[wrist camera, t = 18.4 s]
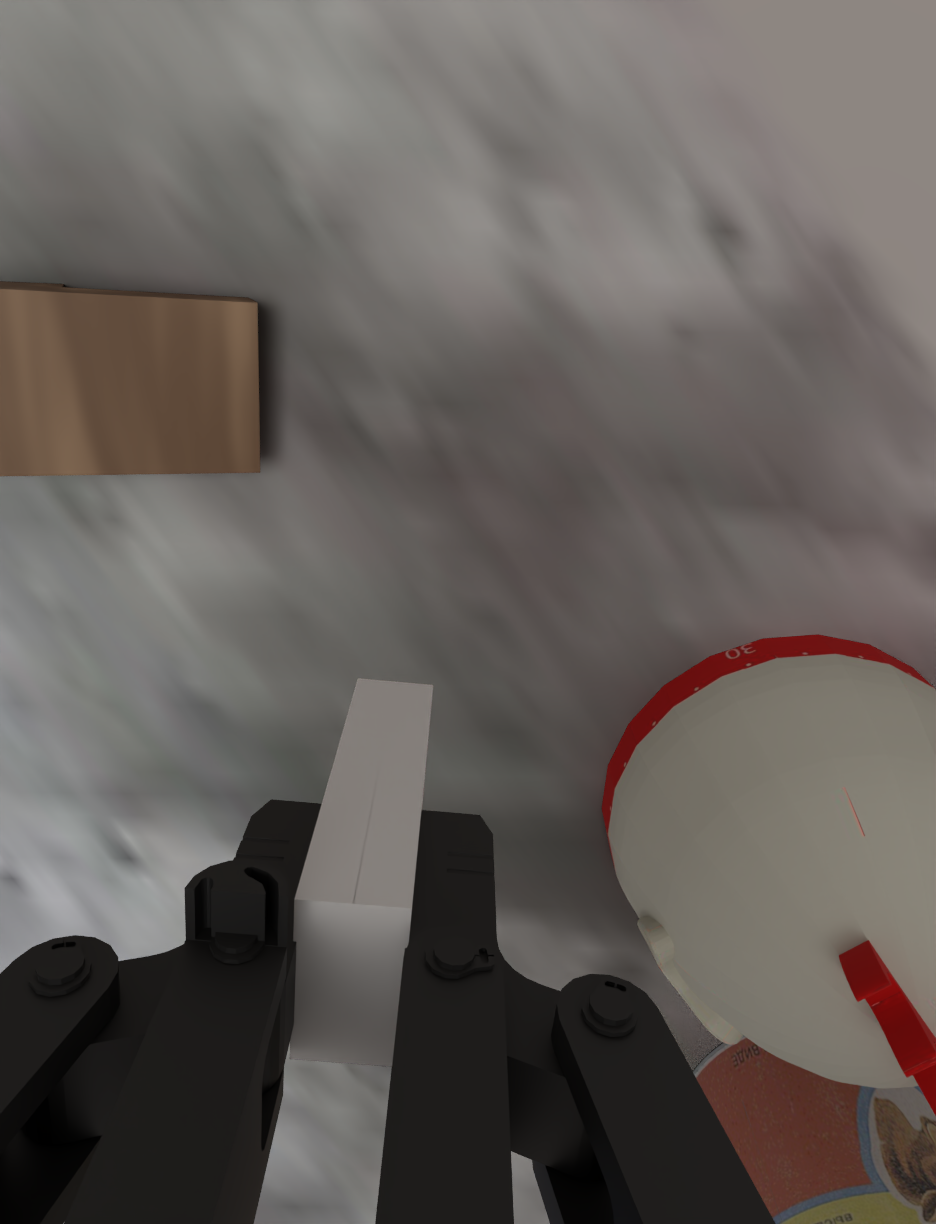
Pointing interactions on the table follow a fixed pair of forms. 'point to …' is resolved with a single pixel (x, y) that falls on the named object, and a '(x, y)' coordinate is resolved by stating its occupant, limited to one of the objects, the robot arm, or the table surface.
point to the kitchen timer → (790, 853)
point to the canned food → (824, 1140)
